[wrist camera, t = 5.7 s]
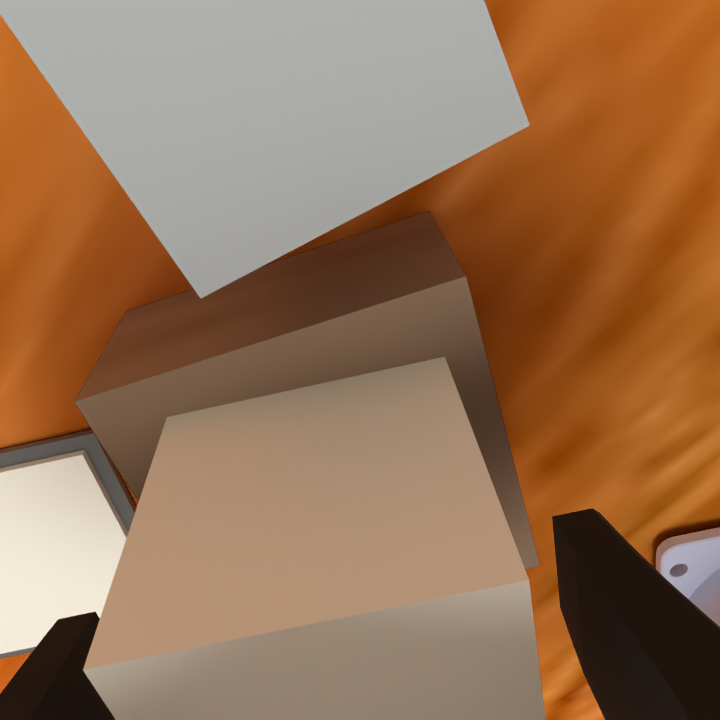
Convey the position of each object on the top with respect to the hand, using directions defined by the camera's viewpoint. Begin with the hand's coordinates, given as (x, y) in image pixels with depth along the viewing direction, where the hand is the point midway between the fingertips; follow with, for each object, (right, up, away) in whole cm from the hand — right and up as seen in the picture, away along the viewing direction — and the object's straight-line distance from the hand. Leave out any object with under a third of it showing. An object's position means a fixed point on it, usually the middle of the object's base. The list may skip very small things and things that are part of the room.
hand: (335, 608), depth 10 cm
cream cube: (0, +1, +2) cm, 3 cm away
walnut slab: (0, +3, +6) cm, 7 cm away
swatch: (-9, -1, +7) cm, 11 cm away
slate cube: (-1, +10, +2) cm, 10 cm away
